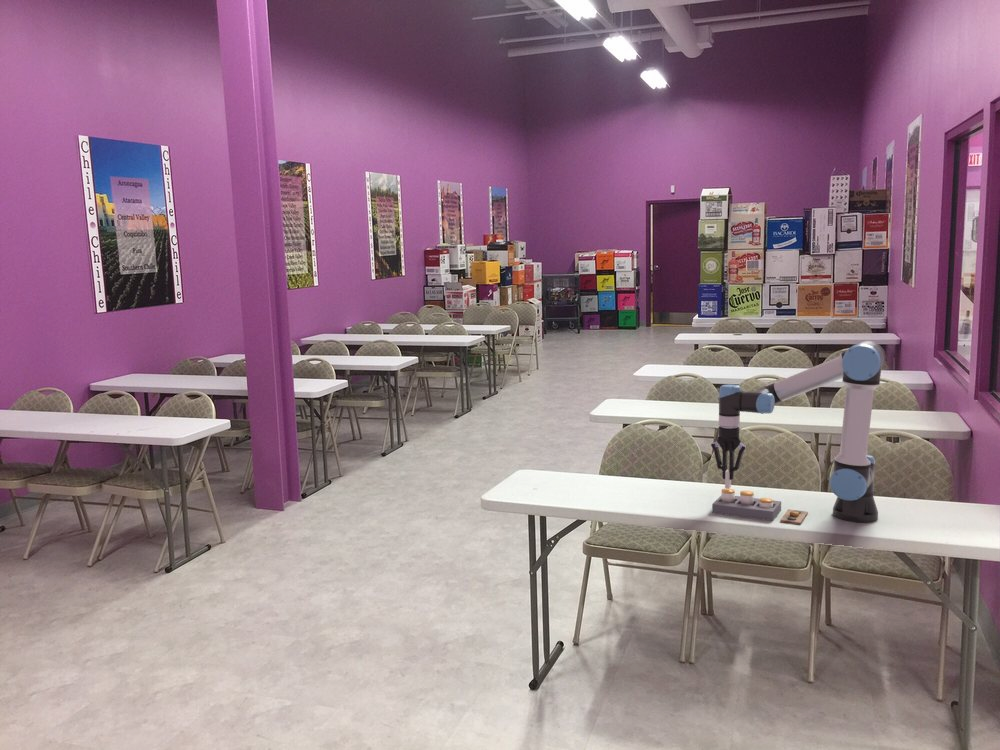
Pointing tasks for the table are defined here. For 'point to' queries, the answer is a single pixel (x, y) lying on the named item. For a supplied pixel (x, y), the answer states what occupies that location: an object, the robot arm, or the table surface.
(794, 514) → the card
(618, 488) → the table surface
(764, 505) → the button
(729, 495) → the button
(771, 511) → the button board
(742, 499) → the button mid
